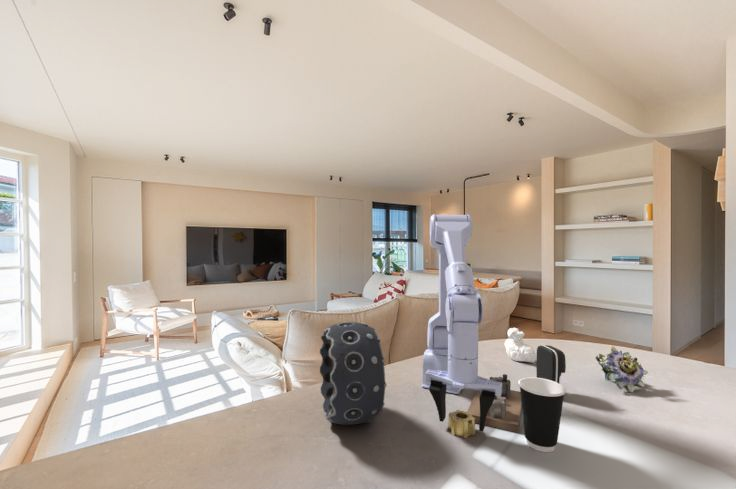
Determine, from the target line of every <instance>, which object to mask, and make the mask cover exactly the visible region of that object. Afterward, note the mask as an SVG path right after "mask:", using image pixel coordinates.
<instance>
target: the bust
mask: <svg viewBox="0 0 736 489" xmlns="http://www.w3.org/2000/svg"><path fill="white" fill-rule="evenodd" d="M506 334H507V337H508V338H507V339H505V342H504V343H503V345H504V347H505V350H506V351H505V354H507V356H508V357H509V358H510V359H511V360H512V361H516V362H525V363H531V364H532V363H535V362H536V358H537V352H535V349H534V347H533V346H531V345H528V344H527V343H525V341H524V340H523V338H524V336H525V333H524V332H523V330H522V331H520V329H519V328H516V327H510V328H509V329H508V330H507V333H506Z"/></svg>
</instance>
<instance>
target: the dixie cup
mask: <svg viewBox="0 0 736 489" xmlns="http://www.w3.org/2000/svg"><path fill="white" fill-rule="evenodd" d="M517 383H518V384H517V385H518V386H519V390H520V391H519V392H521V403H522V409H521V414H522V420H523V421H522V422H523V433H524V438H525V442H526V444H527V446H528V447H530V448H532V449H533V450H535V451H539V452H541V453H542V452H543V453H552V452H554V451H555V450H556V445H557V444H558V438H559V431H560V426H561V425H560V424H561V417H562V410H563V405H564V396H565V394H566V393H567V389H566V388H565V386H564V385H562V384H561V383H560V382H559V383H557V382H554V381H551V380H548V379H543V378H537V376H535V377H532V376H531V377H524V378H521V379H519V380H518V382H517Z"/></svg>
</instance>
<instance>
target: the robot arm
mask: <svg viewBox="0 0 736 489" xmlns="http://www.w3.org/2000/svg"><path fill="white" fill-rule="evenodd" d="M429 218H430V219H429V244H430V247H431V248H433V249H436V251H437V255H438V312H436V313H435V314H434V315H432V316H431V317H430V318H429V319H428V322H427V329H426V330H427V331H426V333H427V334H426V335H427V336H426V338H427V339H426V340H427V343H426V344H427V349H425V351H424V353H423V357H422V384H421V387H422V388H424V389H429V393H430V395H431V397H432V398H433V401H434V403H435V405H436V410H437V414H438V420H439V422H441V423H442V422H444V421H445V419H446V416H447V409H446V405H447V404H446V403H447V402H446V395H447V393H451V394H455V395H460V393H461V391H462V390H463V389H468V390H473V391H482V393H481V395H480V397H479V401H480V423H479V424H478V425H479V426H478V429H479V430H478V431H480V432H484V430H485V426H486V425H485V421H486V416H487V413H488V411H489V409H490V407H491V405H492V403H493V401H494V399H495V396H501V394H502V383H501V382H496V381H492V380H490V378H489V379H488V378H485V377H482V376H479V371H478V370H479V369H478V368H479V325H481V323H482V321H483V312H484V311H483V310H484V308H483V300H482V296H481V295H480V293H479V290H478V289H476V285H475V278H474V273H473V269H472V267H471V266H470V265H469V264H468V263H467V262H466V247H467V245H468V244H469V241H470V240H471V237H472V234H473V218H472V216H471V215H470V214H434V213H433V214H432V215H430V216H429Z"/></svg>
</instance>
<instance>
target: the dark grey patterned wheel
mask: <svg viewBox="0 0 736 489" xmlns="http://www.w3.org/2000/svg"><path fill="white" fill-rule="evenodd" d="M322 331H323V332H322V334H321V335H320V336H321V337H320V339H321V341H322V344H321V346H320V348H319V354H320V355H321V358H322V360H321V364H320V366H319V374H320V375H321V377H322V383H321V385H320V387H319V389H320V394H321V395H322V396H323V398H324V401H323V404H322V411H324V412H325V413H326V414H325V415H324V416H325V417H324V418H325V419H326V420H327V421H328V422H331V423H333V424H337V425H342V426H344V425H346V426H347V425H359V424H363V423H370V422H372V421H373V419H374V418H375V417H376V416H379V415H380V414H381V412H382V409H383V407H384V406H385V394H386V387H387V383H386V370H385V363H386V360H385V358H384V355H383V349H382V344H381V338H379V336H378V334H377V332H376V329H375V327H373V326H370V325H368V324H367V323H366V322H356V321H345V322H344V321H343V322H339V323H338V322H337V323H335V324H332V325H330V326H328V327H326V328H325V329H323V330H322Z"/></svg>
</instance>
